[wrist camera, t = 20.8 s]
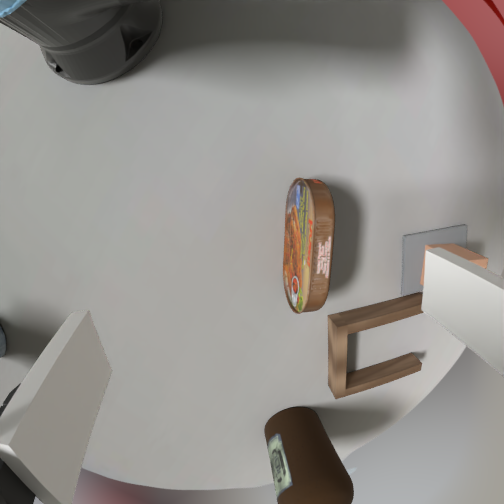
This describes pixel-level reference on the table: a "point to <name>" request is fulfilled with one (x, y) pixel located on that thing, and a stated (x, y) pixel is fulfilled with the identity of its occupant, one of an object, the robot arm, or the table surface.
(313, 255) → the tin
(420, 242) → the mat
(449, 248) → the block
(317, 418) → the olive oil
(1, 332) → the moka pot
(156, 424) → the table surface
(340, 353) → the bay
